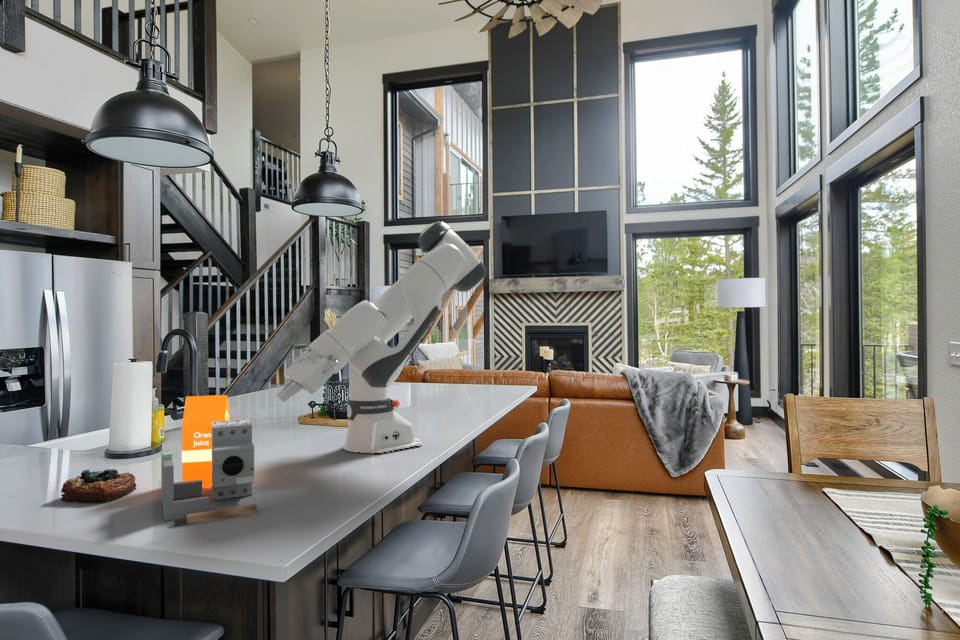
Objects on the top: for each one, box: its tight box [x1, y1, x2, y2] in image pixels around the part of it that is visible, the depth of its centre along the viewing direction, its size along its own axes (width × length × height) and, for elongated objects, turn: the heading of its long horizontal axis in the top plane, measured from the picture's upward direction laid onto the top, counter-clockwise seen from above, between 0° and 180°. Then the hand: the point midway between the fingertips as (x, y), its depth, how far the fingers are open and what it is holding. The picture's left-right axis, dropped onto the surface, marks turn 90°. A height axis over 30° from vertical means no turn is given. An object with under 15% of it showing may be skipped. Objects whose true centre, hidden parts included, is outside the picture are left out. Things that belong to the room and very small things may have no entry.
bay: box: [160, 449, 210, 522], centre depth 114 cm, size 8×15×11 cm, turn 31°
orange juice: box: [181, 394, 231, 489], centre depth 129 cm, size 8×9×20 cm
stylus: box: [173, 503, 258, 527], centre depth 107 cm, size 14×2×2 cm, turn 119°
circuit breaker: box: [211, 418, 255, 501], centre depth 120 cm, size 8×14×15 cm, turn 27°
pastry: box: [60, 468, 137, 504], centre depth 121 cm, size 11×12×6 cm
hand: (279, 398), depth 124 cm, fingers closed
